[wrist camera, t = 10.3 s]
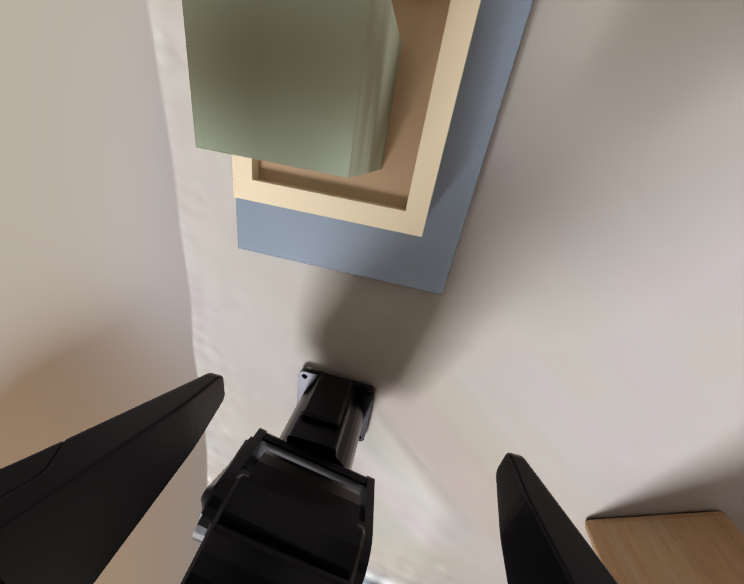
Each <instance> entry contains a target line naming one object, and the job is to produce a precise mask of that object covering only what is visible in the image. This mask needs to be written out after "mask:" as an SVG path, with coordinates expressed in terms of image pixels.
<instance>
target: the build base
mask: <svg viewBox="0 0 744 584" xmlns="http://www.w3.org/2000/svg"><path fill="white" fill-rule="evenodd" d="M391 1H392V5H393V10H394V14H395V18H396V22H397V26H398V30H399V34H400V38H401V42H402V50H401V55H400V61H399V67H398V73H397V79H396V85H395V91H394V97H393V103H392V109H391V115H390V120H389V126H388V132H387V138H386V144H385V150H384V156H383V162H382V168H381V170H377V171H373V172H369V173H365V174H361V175H357V176H353V177H349V178H346V177H341V176H336V175H331V174H326V173H321V172H316V171H311V170H306V169H301V168H296V167H292V166H287V165H282V164H277V163H272V162H267V161H262V160H257V159H252V158H247V157H242V156H237V155H232V170H233V191H234V197H235V198H236V210H237V232H238V248H240V249H244V250H249V251H253V252H257V253H262V254H266V255H270V256H275V257H279V258H284V259H288V260H292V261H297V262H301V263H306V264H310V265H314V266H319V267H323V268H327V269H332V270H336V271H341V272H345V273H349V274H354V275H358V276H362V277H367V278H371V279H376V280H380V281H384V282H389V283H393V284H398V285H402V286H406V287H411V288H415V289H419V290H424V291H428V292H433V293H437V294H441V295H442V292H443V289H444V286H445V283H446V280H447V276H448V273H449V270H450V267H451V263H452V260H453V257H454V254H455V251H456V247H457V244H458V241H459V238H460V234H461V231H462V228H463V225H464V221H465V218H466V215H467V212H468V209H469V205H470V202H471V199H472V196H473V192H474V189H475V186H476V183H477V180H478V176H479V173H480V170H481V167H482V163H483V160H484V157H485V154H486V151H487V147H488V144H489V141H490V138H491V134H492V131H493V128H494V125H495V122H496V118H497V115H498V112H499V109H500V105H501V102H502V99H503V96H504V92H505V89H506V86H507V83H508V80H509V76H510V73H511V70H512V67H513V63H514V60H515V57H516V54H517V51H518V47H519V44H520V41H521V38H522V34H523V31H524V28H525V25H526V22H527V18H528V15H529V12H530V9H531V5H532V2H533V0H391Z"/></svg>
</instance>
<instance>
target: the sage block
mask: <svg viewBox="0 0 744 584" xmlns="http://www.w3.org/2000/svg"><path fill="white" fill-rule="evenodd" d="M182 5H183V16H184V26H185V37H186V47H187V58H188V68H189V79H190V89H191V100H192V110H193V121H194V131H195V142H196V147H197V148H202V149H207V150H212V151H217V152H222V153H227V154H232V155H237V156H242V157H247V158H252V159H257V160H262V161H267V162H272V163H277V164H282V165H287V166H292V167H296V168H301V169H306V170H311V171H316V172H321V173H326V174H331V175H336V176H341V177H346V178H349V177H353V176H357V175H361V174H365V173H369V172H373V171H377V170H381V168H382V162H383V156H384V150H385V144H386V138H387V132H388V126H389V120H390V115H391V109H392V103H393V97H394V91H395V85H396V79H397V73H398V67H399V61H400V55H401V50H402V42H401V38H400V34H399V30H398V26H397V22H396V18H395V14H394V10H393V5H392V1H391V0H182Z"/></svg>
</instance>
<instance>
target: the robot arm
mask: <svg viewBox="0 0 744 584" xmlns="http://www.w3.org/2000/svg"><path fill="white" fill-rule="evenodd" d="M305 374H306V375H305ZM368 391H370V392H368ZM374 394H375V389H374V387H373V386H371V385H367V384H363V383H360V382H356V381H352V380H348V379H344V378H341V377H337V376H333V375H329V374H325V373H321V372H318V371H314V370H310V369H305V368H304V369H302V370H301V371H300V373H299V381H298V395H297V406H296V408H295V410H294V412H293V414H292V416H291V417H290V419H289V421H288V423H287V425H286V427H285V429H284V431H283V432H282V434H281V436H280V438H278V437H276V436H273V435H271V434H269V433H267V431H266V430H263V429H261V428H259V430H258V431H257V433H256V434H255V435H254V437H250V438H249V439H248V440H245V442H244V443H243V445H242V446H241V448H240V449H239V451H238V452H237V454H236V455H235V457H234V458H233V460H232V461H231V462H230V464H229V465H228V466H227V467H226V468H225V469H224V470H223V471H222V472H221V473H220V474H219V475H218V476H217V478H216V479H215V480H214V481H213V482H212V483H211V484H210V485H209V486H208V487H207V488H206V490H205V491H204V493H203V495H202V497H201V504H202V512H201V515H200V517H199V522H198V524H197V527H196V529H195V531H194V534H193V540H195V541H198V542H200V543H201V545H200V547H199V549H198V551H197V553H196V555H195V557H194V559H193V561H192V563H191V565H190V567H189V569H188V571H187V572H186V574H185V576H184V578H183V580H182V582H181V584H362V583H363V580H364V577H365V574H366V570H367V566H368V562H369V557H370V552H371V546H372V536H373V511H374V485H375V479H373V478H371V477H369V476H367V477H365V476H363V475H361V474H359V473H356V472H354V471H352V470H351V468H352V464H353V460H354V456H355V452H356V448H357V444H358V441H363V440H364V437H365V432H366V428H367V424H368V419H369V415H370V411H371V407H372V402H373V398H374ZM224 395H225V392H224V381H223V377H222V376H221V375H217V374H214V373H208V374H206V375H203V376H201V377H199V378H197V379H195V380H193V381H191V382H188V383H186V384H184V385H182V386H180V387H178V388H176V389H173V390H171V391H169V392H167V393H165V394H163V395H161V396H158V397H156V398H154V399H152V400H150V401H148V402H145V403H143V404H141V405H139V406H137V407H135V408H132V409H130V410H128V411H126V412H124V413H122V414H120V415H117V416H115V417H113V418H111V419H109V420H107V421H105V422H102V423H101V424H98V425H96V426H94V427H92V428H89V429H87V430H85V431H83V432H81V433H79V434H77V435H75V436H72V437H70V438H68V439H66V440H65V441H64V442H63V441H62V442H59V443H57V444H55V445H53V446H51V447H49V448H46V449H44V450H42V451H40V452H38V453H35V454H33V455H31V456H29V457H26V458H24V459H22V460H20V461H18V462H15V463H13V464H11V465H8V466H6V467H4V468H1V469H0V584H93V583H94V582H95V581H96V579H97V578H98V576H99V575H100V574H101V573H102V571H103V570H104V569H105V567H106V566H107V565H108V563H109V562H110V560H111V559H112V558H113V556H114V555H115V554H116V552H117V551H118V550H119V548H120V547H121V546H122V544H123V543H124V542H125V540H126V539H127V537H128V536H129V535H130V533H131V532H132V531H133V530H134V528H135V527H136V525H137V524H138V523H139V521H140V520H141V519H142V517H143V516H144V514H145V513H146V512H147V511H148V509H149V508H150V507H151V505H152V504H153V503H154V501H155V500H156V498H157V497H158V496H159V494H160V493H161V492H162V490H163V489H164V488H165V486H166V485H167V484H168V482H169V481H170V480H171V478H172V477H173V476H174V474H175V473H176V472H177V470H178V469H179V467H180V466H181V465H182V464H183V462H184V461H185V459H186V458H187V457H188V455H189V454H190V453H191V451H192V450H193V448H194V447H195V445H196V444H197V442H198V441H199V439H200V437H201V436H202V434H203V433H204V431H205V429H206V428H207V426H208V424H209V423H210V421H211V419H212V418H213V416H214V415H215V413H216V411H217V410H218V408H219V406H220V405H221V403H222V401H223V399H224ZM496 482H497V497H498V512H499V527H500V538H501V545H502V551H503V557H504V564H505V570H506V576H507V582H508V584H618V583H617V581H616V580H615V579H614V577H613V576H612V575H611V573H610V572H609V571H608V569H607V568H606V567H605V565H604V564H603V563H602V561H601V560H600V559H599V557H598V556H597V555H596V553H595V552H594V551H593V549H592V548H591V547H590V545H589V544H588V543H587V541H586V540H585V539H584V537H583V536H582V535H581V533H580V532H579V531H578V529H577V528H576V527H575V525H574V524H573V523H572V521H571V520H570V519H569V517H568V516H567V515H566V513H565V512H564V511H563V509H562V508H561V507H560V505H559V504H558V503H557V501H556V500H555V499H554V497H553V496H552V495H551V493H550V492H549V491H548V489H547V488H546V487H545V485H544V484H543V483H542V481H541V480H540V479H539V477H538V476H537V475H536V473H535V472H534V471H533V469H532V468H531V467H530V465H529V464H528V463H527V461H526V460H525V459H524V458H523V457H522V456H520V455H516V454H513V453H507V454H506V455H505V457H504V458H503V460H502V462H501V464H500V465H499V467H498V469H497V473H496Z"/></svg>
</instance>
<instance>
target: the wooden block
mask: <svg viewBox="0 0 744 584" xmlns="http://www.w3.org/2000/svg"><path fill="white" fill-rule="evenodd" d="M585 527H586V530H587V533H588V536H589V538H590V541H591V544H592V547H593V549H594V552H595V553H596V555H597V556H598V557H599V559H600V560H601V561H602V563H603V564H604V565H605V567H606V568H607V569H608V571H609V572H610V573H611V575H612V576H613V577H614V579H615V580H616V581H617V583H618V584H744V535H743V534H742V533H741V532H740V530H739V529H738V528H737V527H736V526H735V524H734V523H733V522H732V521H731V520H730V518H729V517H727V516H726V515H725V514H724V513H723V512H718V511H715V512H700V513H685V514H669V515H654V516H639V517H624V518H609V519H593V520H587V521H586V522H585Z"/></svg>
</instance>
